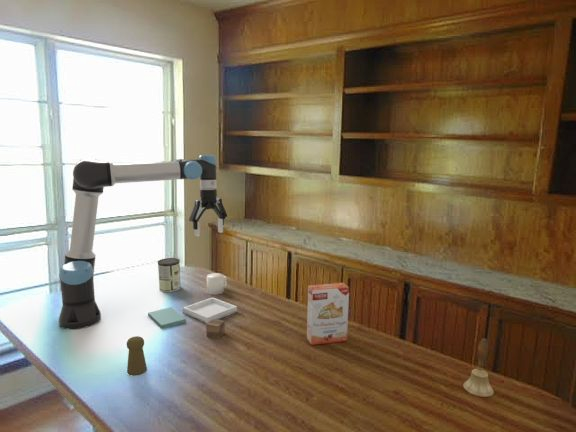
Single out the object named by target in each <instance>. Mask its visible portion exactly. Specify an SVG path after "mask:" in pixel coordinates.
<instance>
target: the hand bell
mask: <svg viewBox="0 0 576 432" xmlns="http://www.w3.org/2000/svg"><path fill="white" fill-rule="evenodd" d="M488 347H489V346H488V342H487V339H486V338H483V337H482V338H481V340H480V341H479V344H478V347H477V355H478V362H477V367H476V368H474V369H472V370H471V374H470V376H469V378H468V380H465V381H464V383H463V384H462V386H463V389H464V390H465V391H466V392H468V393H469V394H471V395H474V396H477V397H480V398H488V397H491V396H493V395H494V388H493V387H492V386H491V385H490V382H489V373H488V372H487V371H486V370H484V368H485V360H486V357H487V354H488V350H489V348H488Z"/></svg>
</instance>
